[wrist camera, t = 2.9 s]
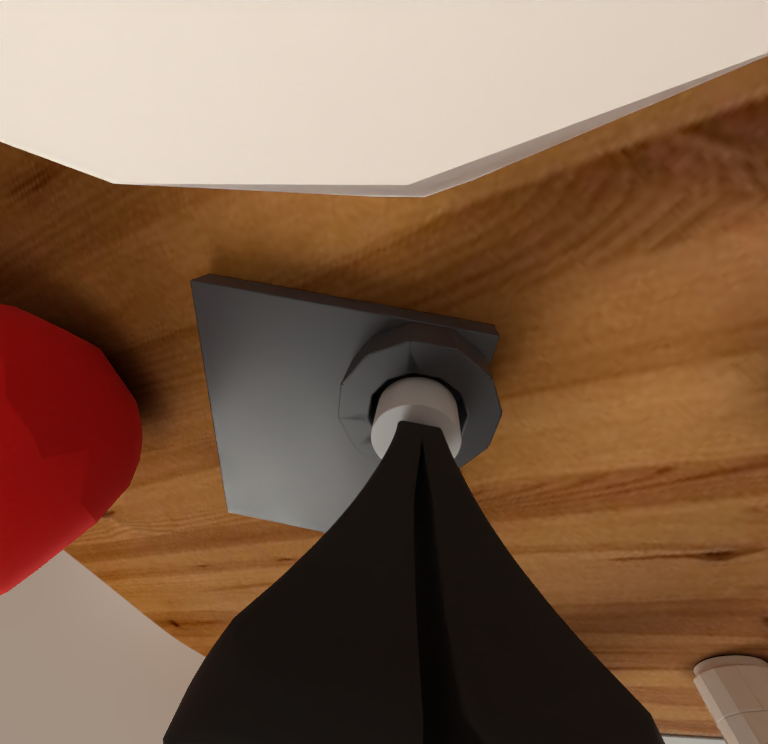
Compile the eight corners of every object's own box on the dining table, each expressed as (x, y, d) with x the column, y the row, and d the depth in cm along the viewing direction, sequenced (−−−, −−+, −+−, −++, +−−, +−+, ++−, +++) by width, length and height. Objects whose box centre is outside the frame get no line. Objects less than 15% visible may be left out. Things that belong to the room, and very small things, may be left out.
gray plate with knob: (430, 535, 20) (431, 587, 17) (237, 496, 20) (209, 540, 17) (505, 326, 13) (526, 359, 10) (208, 273, 13) (153, 291, 10)
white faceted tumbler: (743, 691, 24) (813, 801, 19) (671, 675, 24) (725, 781, 20) (797, 663, 21) (892, 783, 17) (716, 646, 21) (790, 760, 17)
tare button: (446, 447, 13) (449, 481, 11) (373, 433, 13) (365, 464, 11) (466, 384, 11) (472, 413, 10) (383, 368, 11) (376, 395, 10)
